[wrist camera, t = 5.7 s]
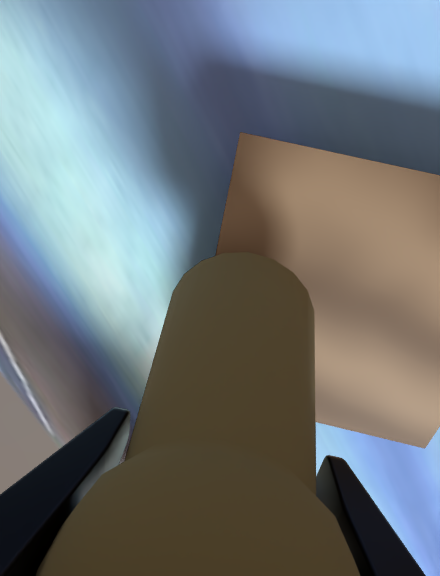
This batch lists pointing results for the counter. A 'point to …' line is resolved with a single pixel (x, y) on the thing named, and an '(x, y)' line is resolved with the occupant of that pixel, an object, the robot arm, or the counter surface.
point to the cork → (217, 443)
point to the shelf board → (351, 276)
